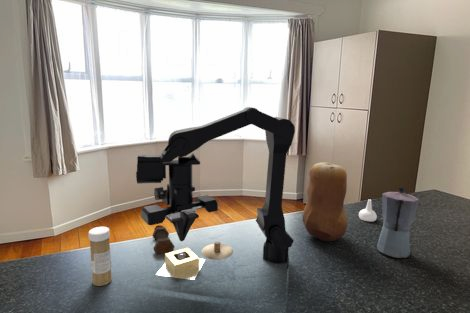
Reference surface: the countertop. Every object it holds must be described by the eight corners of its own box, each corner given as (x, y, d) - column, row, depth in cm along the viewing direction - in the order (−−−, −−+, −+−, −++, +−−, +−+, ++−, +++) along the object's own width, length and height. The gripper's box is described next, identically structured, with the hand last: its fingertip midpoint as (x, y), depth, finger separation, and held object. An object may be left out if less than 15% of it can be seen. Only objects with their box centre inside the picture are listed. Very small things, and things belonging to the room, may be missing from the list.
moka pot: (409, 245, 97) (418, 184, 93) (414, 269, 84) (424, 198, 80) (376, 238, 101) (383, 179, 97) (375, 260, 88) (383, 193, 84)
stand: (235, 248, 93) (235, 237, 92) (229, 264, 84) (229, 252, 83) (206, 245, 94) (206, 234, 94) (197, 260, 86) (197, 248, 85)
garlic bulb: (359, 222, 116) (362, 203, 113) (357, 215, 122) (359, 196, 119) (377, 224, 114) (380, 204, 112) (374, 216, 120) (376, 197, 118)
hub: (205, 262, 85) (205, 247, 84) (194, 283, 75) (194, 266, 74) (171, 258, 87) (171, 243, 86) (155, 278, 77) (155, 261, 76)
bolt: (162, 239, 102) (167, 261, 88) (148, 234, 100) (151, 255, 86) (170, 224, 102) (177, 243, 88) (156, 218, 100) (161, 236, 86)
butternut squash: (344, 232, 105) (351, 160, 101) (346, 251, 93) (354, 170, 88) (302, 227, 109) (307, 157, 104) (299, 244, 96) (305, 166, 92)
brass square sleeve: (199, 268, 80) (199, 257, 79) (175, 276, 76) (175, 265, 76) (188, 257, 85) (187, 247, 85) (165, 264, 82) (164, 253, 81)
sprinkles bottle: (94, 277, 77) (90, 226, 74) (113, 275, 78) (110, 225, 75) (90, 288, 73) (86, 235, 70) (111, 285, 74) (108, 233, 71)
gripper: (199, 170, 88) (199, 222, 91) (133, 179, 78) (135, 237, 81) (219, 179, 79) (219, 236, 82) (147, 191, 69) (150, 255, 72)
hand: (181, 240), depth 79 cm, fingers closed
